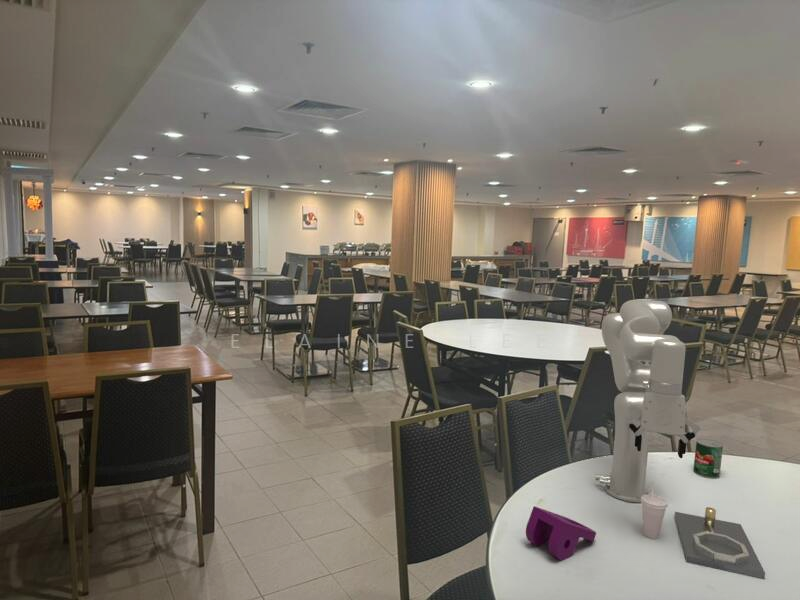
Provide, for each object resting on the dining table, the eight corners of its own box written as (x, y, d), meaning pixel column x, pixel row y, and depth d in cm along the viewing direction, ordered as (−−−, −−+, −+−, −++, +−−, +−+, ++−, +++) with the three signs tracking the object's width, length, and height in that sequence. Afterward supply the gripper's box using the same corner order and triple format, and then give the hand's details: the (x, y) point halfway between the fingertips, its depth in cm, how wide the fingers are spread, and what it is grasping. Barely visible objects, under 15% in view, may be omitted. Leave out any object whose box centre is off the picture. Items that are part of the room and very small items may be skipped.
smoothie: (641, 526, 145) (646, 476, 144) (667, 534, 141) (672, 483, 139) (634, 535, 140) (639, 483, 139) (661, 544, 136) (666, 491, 135)
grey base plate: (686, 561, 129) (688, 540, 128) (674, 516, 151) (676, 497, 150) (764, 579, 123) (767, 556, 122) (740, 529, 145) (742, 510, 145)
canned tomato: (691, 474, 182) (694, 442, 181) (695, 467, 188) (698, 436, 187) (718, 481, 177) (721, 448, 176) (721, 473, 183) (724, 442, 182)
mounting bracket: (561, 550, 142) (521, 539, 132) (572, 519, 144) (533, 506, 134) (592, 568, 135) (552, 558, 125) (603, 535, 136) (564, 522, 126)
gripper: (628, 386, 136) (623, 452, 138) (706, 396, 130) (699, 464, 132) (627, 380, 143) (622, 442, 145) (700, 388, 137) (694, 453, 139)
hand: (659, 452), depth 138 cm, fingers open, 9 cm apart
